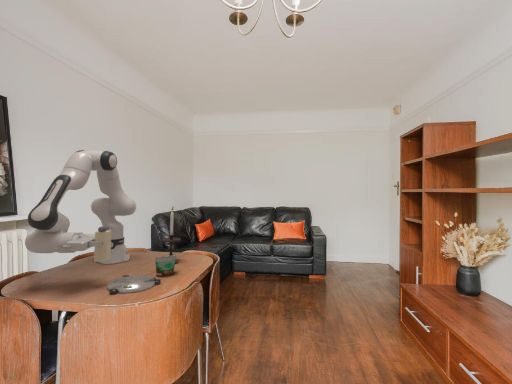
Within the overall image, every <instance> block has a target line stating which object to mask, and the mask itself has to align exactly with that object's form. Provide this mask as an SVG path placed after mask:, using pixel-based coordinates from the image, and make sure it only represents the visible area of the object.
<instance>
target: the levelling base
mask: <svg viewBox="0 0 512 384" xmlns="http://www.w3.org/2000/svg"><path fill="white" fill-rule="evenodd" d="M161 283H162V282H161V279H157V278H156V277H155V276H153V275H149V274H148V275H147V274H133V275H132V274H131V275H130V274H129V275H128V274H124V275H122V276H121V277H118V278H115V279H112V280H110V281H109V282H108V283H107V291H108V292H109V293H108V294H109V295H110V296H113V295H118V294H134V293H139V292H143V291H147V290H149V289H152V288H154V286H158V285H161Z"/></svg>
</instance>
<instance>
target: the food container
mask: <svg viewBox="0 0 512 384" xmlns="http://www.w3.org/2000/svg"><path fill="white" fill-rule="evenodd" d="M172 254H173V255H163V256H161V257H158V256H157V257H156V256H155V257H154V260H153V261H154V262H155V274H156V275H155V276H156V277H158V278H164V277H167V278H168V277H171V276H173V275H174V274H175V265H176V264H175V259H176V260H178V259H177V254H176V253H173V252H172Z"/></svg>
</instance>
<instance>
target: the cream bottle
mask: <svg viewBox="0 0 512 384" xmlns="http://www.w3.org/2000/svg"><path fill="white" fill-rule="evenodd" d="M108 229H109V227H108V226H107V225H104V226H102V225H101V226H99V227H98V228H97V230H96V231H95V232H94V234H95V242H98V241H103V245H102V246H95V247H94V253H93V254H94V255H93V256H94V257H93V261H94V262H95V263H99V261H108V260H109V259H110V256H111V230H108Z"/></svg>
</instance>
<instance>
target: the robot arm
mask: <svg viewBox="0 0 512 384" xmlns="http://www.w3.org/2000/svg"><path fill="white" fill-rule="evenodd" d="M117 165H118V158H117V156H116V154H115V153H113V152H112V151H109V150H99V149H86V150H85V149H80V150H77V151H75V152H74V153H72V154H71V156H70V157H69V158H68V160H67V161H66V163H65V164H64V166H63V168H62V171H61V172H60V174H59V175H58V176H56V177H55V178H54V179H53V181H52V182H51V183H50V185H49V187H47V190H46V192H45V193H44V194H43V196H42V198H41V199H40V201H39V202H38V203H37V204H36V205H35V206H34V207H33V208H32V209H31V210H30V211H29V213H28V216H27V222H28V225H29V226H30V227H31V228H33V229H35V230H34V231H32V232H31V233H30V234H28V235H27V236H26V237H25V240H24V246H25V247H26V250H28V251H29V252H31V253H33V254H53V253H59V254H75V253H76V252H83V251H86V250H88V249H90V248H95V246H102V245H103V241H98V242H95V233H94V234H93V233H84V232H68V230H69V228H70V223H71V222H70V220H69V218H68V216H65V214H63V213H61V212H60V211H59V204H61V202H62V200H63V198H64V196H65V194H67V192H68V191H69V190H70V191H78V190H82V189H83V188H84V187H85V186H86V184H87V182H88V180H89V178H90V176H91V173H92V171H93V172H95V171H96V177H97V182H98V187H99V191H100V192H101V193H102V194H104V195H106V196H107V197H101V198H95V199H93V201H92V202H91V205H90V208H91V211H92V213H93V214H95V215H96V216H97V217H98V219H99V221H100V223H101V226H104V225H107V226H108V227H109V229H108V230H111V256H110V259H109V260H108V261H99V262H98V263H99V264H103V265H110V264H118V263H120V264H121V263H123V262H129V261H130V259H131V254H130V253H128V252H127V251H128V250H127V246H126V245H125V237H124V229H125V228H124V224H123V223H122V222H120V221H118V219H116V217H118V216H119V217H120V216H121V217H126V216H130V215H134V213H135V212H136V210H137V204H136V202H135V200H134V199H132V198H131V197H129V196H128V195H127V194H126V193H125V191H124V190H123V188H122V185H121V180H120V175H119V171H118V168H117V167H118V166H117Z"/></svg>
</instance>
